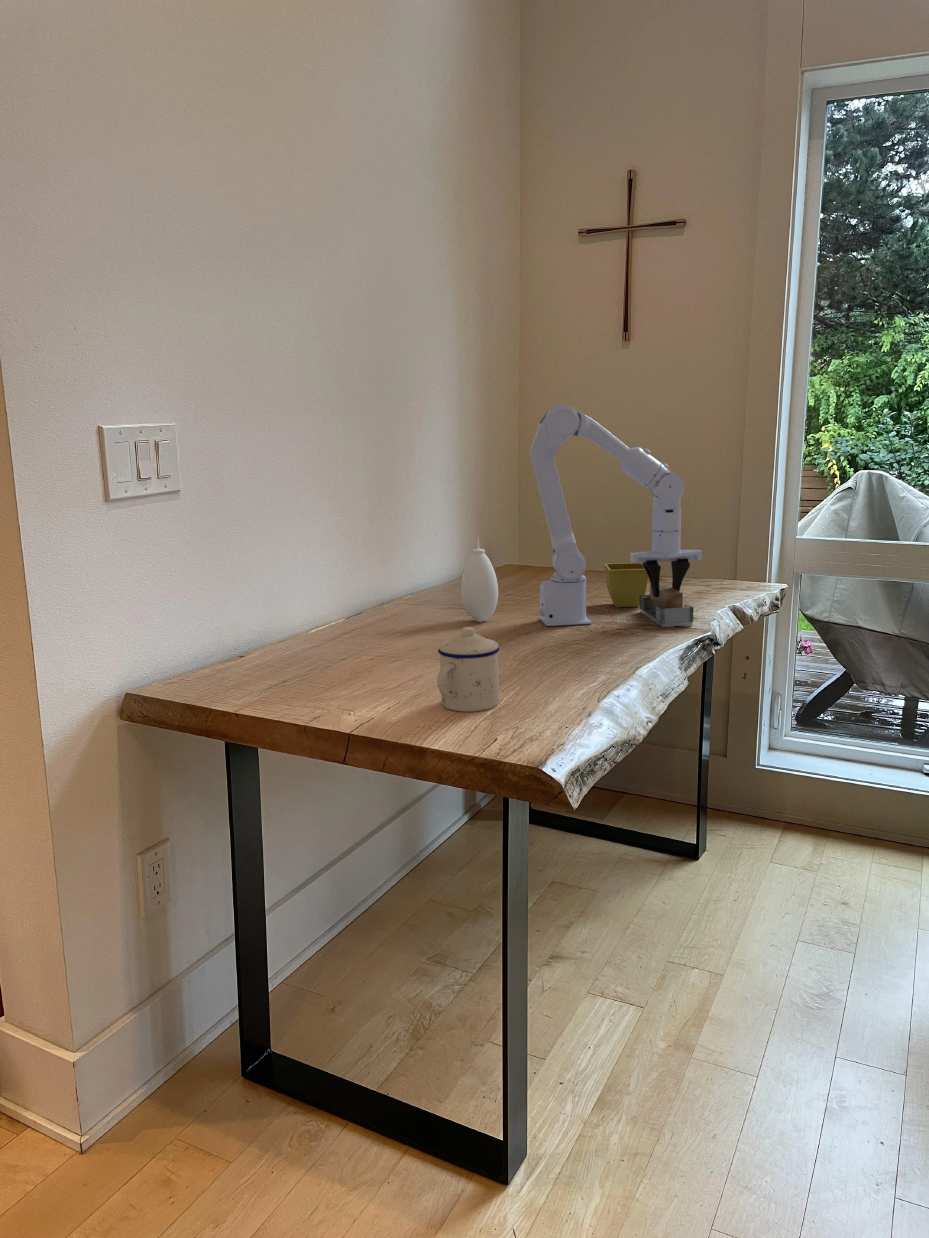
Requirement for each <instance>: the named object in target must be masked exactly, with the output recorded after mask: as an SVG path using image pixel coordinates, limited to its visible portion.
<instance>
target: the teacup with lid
mask: <svg viewBox="0 0 929 1238" xmlns="http://www.w3.org/2000/svg"><path fill="white" fill-rule="evenodd" d="M460 632H461V633H460V634H456V635H455V636H453V637H452V638H451V639H448V640H445V641H443V642H442V643H440V644H439V646H438V649H437V651H438V654H439V667H440V668H439V672H438V673H437V678H436V680H437V688H438V690H439V691H438V692H439V693H440V696H441V697H440V698H441V705H442V706H443V707H444V708H445V709H448V710H451V711H454V712H463V713H466V712H467V713H474V712H476V713H477V712H482V711H488V710H490V709H493V708H495V707H496V706H497V705H498V704H499V703H500V690H499V689H500V687H499V684H500V682H499V680H500V679H499V651H500V647H499V644H498V643H497V641H496V640H493V639H491V638H486V637H484V636H483V635H481V634H479V633H476V629H475V628H474V627H471V626H467V627H462V628H461V631H460Z"/></svg>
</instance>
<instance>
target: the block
mask: <svg viewBox="0 0 929 1238" xmlns="http://www.w3.org/2000/svg"><path fill="white" fill-rule="evenodd" d="M649 595H650V604H651V605H653V606H655V607H656V606H662V607H663V608H672V607H684V606H683V605H684V604H683V599H684V593H683V592H681V591H678V590H676V589H674V588H672V586H670V585H669V584H666V583H665V584H664V583H663V584H662V583H661V584H660V583H659V597H654V596H653V592H652V587H651V584H650V585H649Z"/></svg>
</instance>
